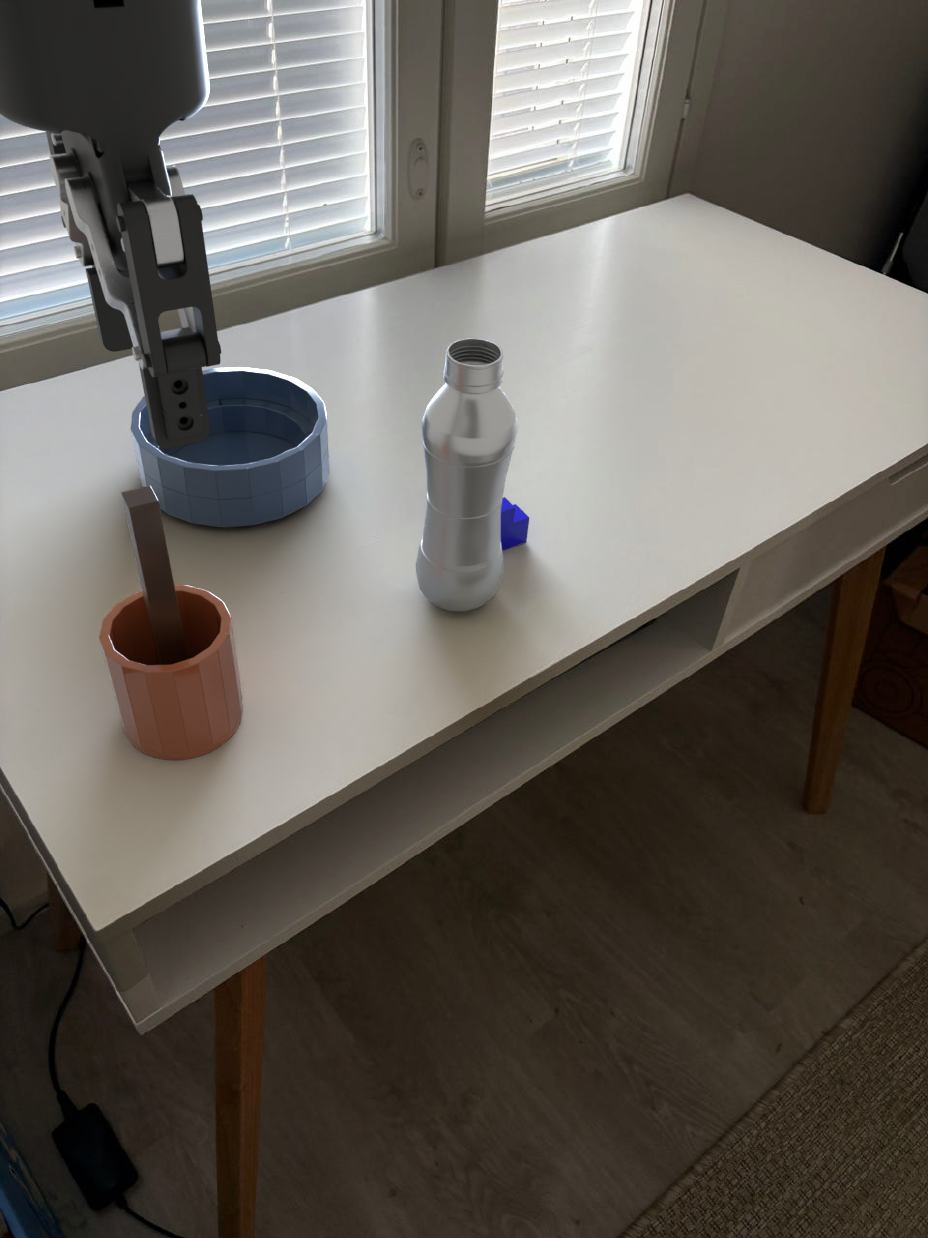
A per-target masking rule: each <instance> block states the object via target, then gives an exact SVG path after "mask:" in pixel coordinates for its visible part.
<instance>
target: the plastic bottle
mask: <svg viewBox="0 0 928 1238" xmlns="http://www.w3.org/2000/svg"><path fill="white" fill-rule="evenodd" d="M444 360H445V361H444V362H445V363H444V367H443V374H442V377H443V381H444V382H445V384H443V386H442V387H441V388H439V390H438V391H437V392H436V393H435V394H434V396H433V398H431V400H430V401H429V403H428V404H427V406H426V408H425V411H424V414H423V416H422V421H421V435H422V436H421V437H422V443H423V453H424V461H425V469H426V510H425V517H424V525H423V531H422V537H421V540H420V544H419V546H418V551H417V556H416V561H415V573H416V578H417V585H418V587H419V590H420V591H421V593H422V594H423V596H424V597H425V598H426V599H427V600H428V601H430V603H431V604H433V605H435V606H436V607H437V608H440V609H442V610H444V611H445V610H446V611H450V612H468V611H472V610H475V609H478V608H480V607H481V606H483V605H484V604H486V603H487V602H489V601H490V600H491V599H492V598H493V597H494V595H495V594H497V592H498V588H499V586H500V583H501V580H502V578H503V575H504V553H503V551H502V546H501V504H502V498H504V493H505V492H504V491H505V485H506V479H507V475H508V472H509V467H510V464H511V460H512V457H513V452H514V449H515V445H516V443H517V442H516V441H517V436H518V431H519V423H518V419H517V414H516V410H515V408H514V406H513V404H512V403H511V401H510V399H509V397H508V396H507V394H506V393H505V392H504V390H503V389H502V387H501V385H502V383H503V380H504V369H503V367H504V366H503V365H504V352H503V348H502V347H501V346H500V345H499V344H498V343H496V342H493V341H491V340H489V339H485V338H478V337H466V338H460V339H457V340H455V341H453V342H451V343H450V344H449V345H448V346H447V347H446V350H445V359H444Z"/></svg>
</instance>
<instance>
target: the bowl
mask: <svg viewBox="0 0 928 1238" xmlns="http://www.w3.org/2000/svg"><path fill="white" fill-rule="evenodd" d="M202 372H203V380H204V387H205V394H206V401H207V409H208V416H209V423H210V434H209V436H208V438H207V439H206V440H204V441H202V442H199V443H195V444H190V445H186V446H181V447H177V448H172V449H163V448H161V447H159V446H158V444H157V443H156V441H155V439H154V437H153V435H152V433H151V427H150V422H149V416H148V411H147V406H146V400H145V395H144V396H142V398H141V399H140V400H139V402H138V403H137V404H136V406H135V408H134V409H133V410H132V412H131V421H130V434H131V439H132V444H133V448H134V449H133V450H134V453H135V458H136V463H137V469H138V473H139V474H138V475H139V479H140V484H141V487H146V486H151V487H152V489H153V491H154V493H155V495H156V497H157V499H158V501H159V505H160V510H161V511H163V512H164V513H166V514H167V515H168V516H171V517H173V518H176V519H179V520H182V521H185V522H188V523H190V524H194V525H199V526H200V525H202V526H208V527H217V528H234V527H248V526H249V527H250V526H258V525H260V524H265V523H268V522H272V521H275V520H279V519H283V518H285V517H287V516H289V515H291V514H293V513H295V512H297V511H298V510H301V509H302V508H304V507H306V506H308V505H309V504H310V503H311V502H312V501H313V500H314V499H315V498H316V497H317V496H318V495H319V494H320V493H322V491H323V490H324V487H325V486H326V482H327V480H328V478H329V475H330V455H329V434H328V433H329V431H328V417H327V409H326V404H325V402H324V400H322V398H321V397H320V395H319V394H318V393H317V392H316V391H315V389H314V388H312V387H311V386H309V385H308V384H306V383H304V382H303V381H301V380H299V379H298V378H296V377H293V376H290V375H287V374H285V373H284V374H283V373H280V372H277V371H274V370H270V369H263V368H254V367H245V366H244V367H243V366H237V367H236V366H235V367H215V368H208V369H202Z"/></svg>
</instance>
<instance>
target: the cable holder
mask: <svg viewBox="0 0 928 1238" xmlns="http://www.w3.org/2000/svg"><path fill="white" fill-rule="evenodd" d="M529 525H530V516H529V515H528V514H527V513H525V511H524V510H522V509H521V507H520V506H519V505H518V504H516V503H514V504H513V503H511V501H510V500H508V499H507V497H505V496H503V498H502V504H501V546H502V552H503V551H505V550H508V549H511V548H514V547H518V546H520V545H524V544H525V543H526V544H527V540H528V533H529Z"/></svg>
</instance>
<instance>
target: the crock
mask: <svg viewBox="0 0 928 1238" xmlns="http://www.w3.org/2000/svg"><path fill="white" fill-rule="evenodd" d="M174 586H175V591H176V596H177V602H178V607H179V612H180V618H181V623H182V629H183V634H184V639H185V645H186V650H187V655H188V660H184V661H181V662H178V663H175V664H171V665H158V661H157V656H156V652H155V647H154V642H153V638H152V633H151V629H150V624H149V619H148V615H147V610H146V605H145V601H144V596H143V592H142V590H139V591H136V592H133V593H132V594H130V595H128V596H127V597H125V598H124V599H122V600H120V601H118V602H117V603H116V604H115V605H113V607H112V608H111V610H109V612H108V613H107V614H106V616H105V617H103V620H102V621H101V627H100V631H99V635H98V640H99V644H100V648H101V651H102V655H103V659H104V663H105V666H106V670H107V674H108V677H109V682H110V685H111V689H112V692H113V696H114V700H115V705H116V707H117V712H118V715H119V719H120V722H121V724H122V728H123V730H124V734H125V735H126V738H127V740H128V741H129V742H130V744H131V745H132V746H133V747H134V748H136V749H137V750H138V751H140V752H141V753H143V754H145V755H147V756H150V757H153V758H156V759H161V760H168V761H179V760H188V759H193V758H197V757H201V756H203V755H205V754H208V753H211V752H212V751H214V750H216V749H218V748H219V747H221V746H222V745H224V744H225V743H226V742H227V741H229V739H230V738H231V737H232V736H233V735H234V734H235V733H236V731H237V729H238V728H239V725H241V721H242V718H243V712H244V707H243V694H242V693H243V692H242V683H241V678H240V670H239V663H238V657H237V648H236V641H235V634H234V627H233V626H234V625H233V620H232V619H233V618H232V614H231V613H230V611H229V609H228V607H227V605H226V603H225V602H224V601H223V600H222V599H220V598H219V597H217V596H216V595H215V594H213V593H212V592H210V590H206V589H203V588H199V587H196V586H191V585H188V584H174Z"/></svg>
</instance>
